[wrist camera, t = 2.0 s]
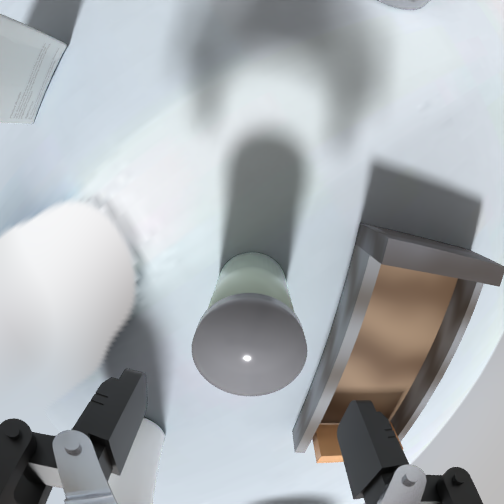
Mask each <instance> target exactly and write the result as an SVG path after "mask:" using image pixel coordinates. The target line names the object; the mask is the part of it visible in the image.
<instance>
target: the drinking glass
mask: <svg viewBox="0 0 504 504" xmlns="http://www.w3.org/2000/svg"><path fill="white" fill-rule="evenodd" d="M164 442H165V435H164V432H163V431H162V429H161V428H160V427H159V426H158V425H157V424H155V423H154V422H152V421H151V420H149V419H146V418H143V420H142V423H141V425H140V428H139V430H138V432H137V435H136V437H135V440H134V442H133V445H132V447H131V450H130V452H129V455H128V457H127V460H126V462H125V465H124V467H123V470H122V472H121V475H120V476H119V475H116V474H113V473H111V475H110V477H109V480H108V484H109V486H110V488H111V490H112V493H113V495H114V497H115V499H116V501H117V503H118V504H153V498H154V492H155V486H156V480H157V474H158V468H159V463H160V457H161V452H162V449H163V445H164Z"/></svg>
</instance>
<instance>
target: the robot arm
mask: <svg viewBox="0 0 504 504" xmlns="http://www.w3.org/2000/svg"><path fill="white" fill-rule="evenodd" d="M378 1H380V2H382V3H384V4H386V5H389V6H392V7H395V8H400V9H405V10H415V9H420V8H422V7H423V6H425V5H426V4H427V3H428V2H430V1H431V0H378ZM146 409H147V386H146V374H145V373H142V372H139V371H135V370H131V369H128V368H127V369H125V370H124V372H123V373H122V375H121V377H120V378H119V379H116V378H113V377H111V378H109V379H108V380H106V381H105V382H103V383H102V384H101V385H100V387H99V388H98V390H97V391H96V394H94V396H93V397H92V399H91V402H89V404H88V405H87V407H86V408H85V410H84V411H83V413H82V415H81V416H80V418H79V419H78V421H77V423H76V424H75V426H74V427H73V428H72V429H71V430H66V431H63V432H60V433H59V434H58V435H56V436H50V435H45V434H40V433H35V432H32V431H31V430H30V427H29V426H28V425H27V424H26V423H25V422H23V421H21V420H19V419H8V420H5V421H4V422H2V423H1V424H0V504H46V501H47V499H48V496H49V494H50V492H51V490H52V487H59V488H63V489H64V492H65V496H66V499H65V504H118V503H117V501H116V499H115V497H114V495H113V493H112V490H111V488H110V486H109V484H108V480H109V477H110V475H111V473H113V474H116V475H119V476H120V475H121V472H122V470H123V467H124V465H125V462H126V460H127V457H128V455H129V452H130V450H131V447H132V445H133V442H134V440H135V437H136V435H137V432H138V430H139V428H140V425H141V423H142V420H143V418H144V416H145V413H146ZM392 429H393V428H392V426H391V424H390V422H389V420H388V419H387V418H386V417H385V416H384V415H383V414H382V413H381V412H380V411H379V412H376V410H375V407H374V405H373V403H372V402H371V401H370V400H352V401H351V402H350V404H349V406H348V408H347V410H346V412H345V414H344V415H343V417H342V419H341V421H340V423H339V425H338V429H337V439H338V443H339V446H340V450H341V454H342V457H343V461H344V465H345V468H346V472H347V476H348V480H349V484H350V488H351V491H352V495H353V499H360V498H364V500H365V503H364V504H483V503H482V500H481V498H480V496H479V494H478V492H477V489H476V487H475V485H474V483H473V481H472V479H471V477H470V475H469V474H468V472H467V471H466V470H464V469H462V468H459V467H453V468H450V469H449V470H447V471H446V472H445V473H444V474H443V475H425V473H424V472H423V471H422V469H420V468H419V467H417V466H414V465H409V463H408V461H407V459H406V456H405V454H404V452H403V450H402V448H401V445H400V443H399V441H398V439H397V438H396V435H395V433H394V430H392Z"/></svg>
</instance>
